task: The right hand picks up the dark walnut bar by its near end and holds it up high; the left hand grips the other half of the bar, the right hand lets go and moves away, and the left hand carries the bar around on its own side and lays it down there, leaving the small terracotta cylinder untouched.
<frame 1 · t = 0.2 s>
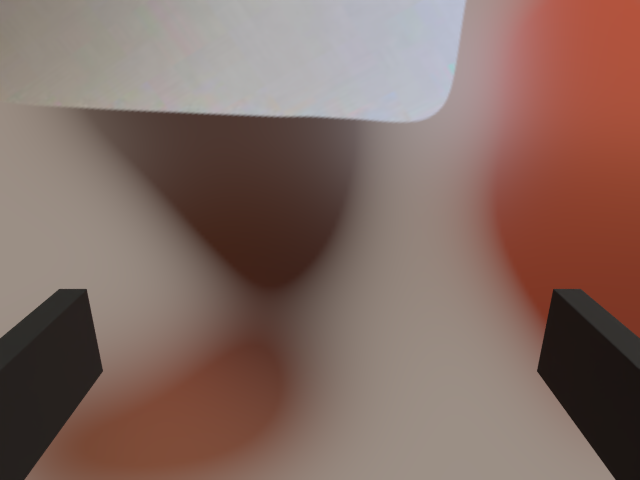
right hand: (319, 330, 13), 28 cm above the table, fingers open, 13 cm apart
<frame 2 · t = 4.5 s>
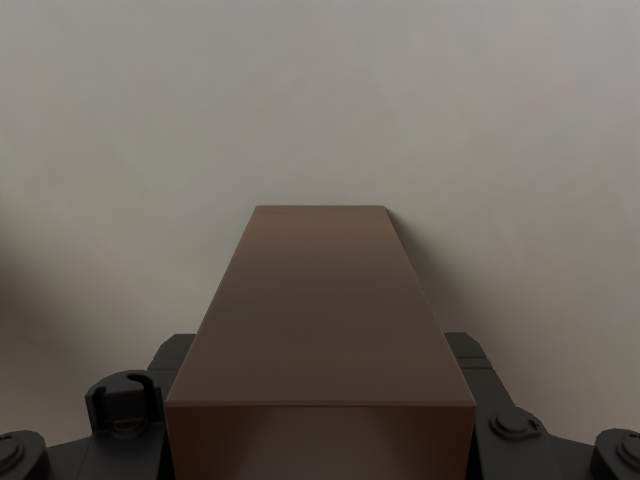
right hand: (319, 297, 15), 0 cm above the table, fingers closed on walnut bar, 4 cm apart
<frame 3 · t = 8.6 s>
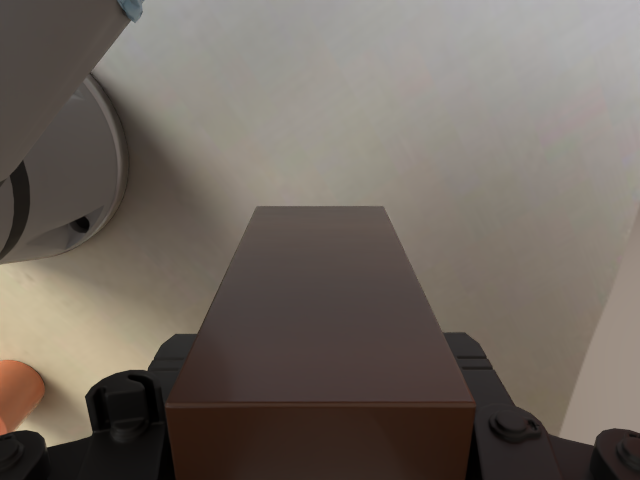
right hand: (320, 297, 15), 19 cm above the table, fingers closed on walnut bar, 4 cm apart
terracotta cylinder: (15, 384, 39), on the table
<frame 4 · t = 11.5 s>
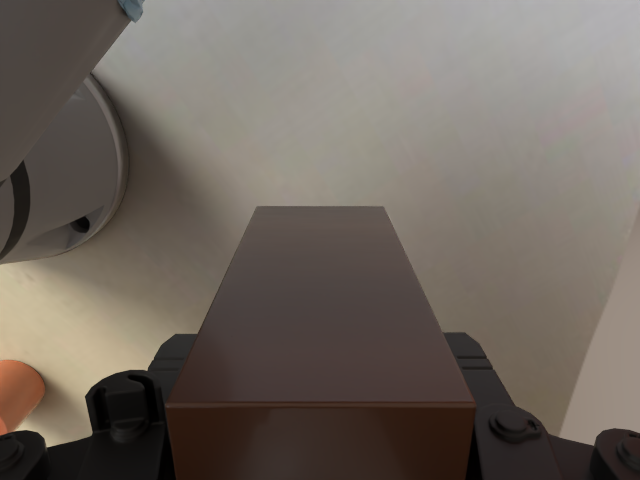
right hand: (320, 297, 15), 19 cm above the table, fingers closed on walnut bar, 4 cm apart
terracotta cylinder: (15, 384, 39), on the table
when the right hand's fingers open (19 cm above the table, at t = 12.6 s): walnut bar stays where it is, held by the left hand.
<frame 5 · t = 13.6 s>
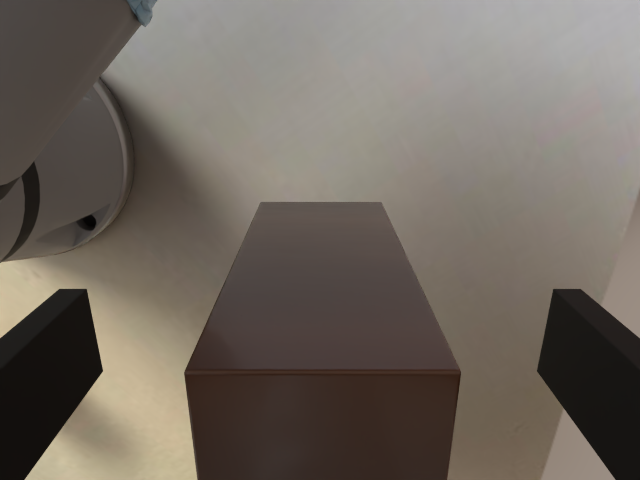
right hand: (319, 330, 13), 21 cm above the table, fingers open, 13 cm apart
walnut bar: (320, 477, 19), point 18 cm above the table, touching left hand
when the left hand's fingers open (6 cm above the table, at t = 34.4 s): walnut bar drops 2 cm, on the table.
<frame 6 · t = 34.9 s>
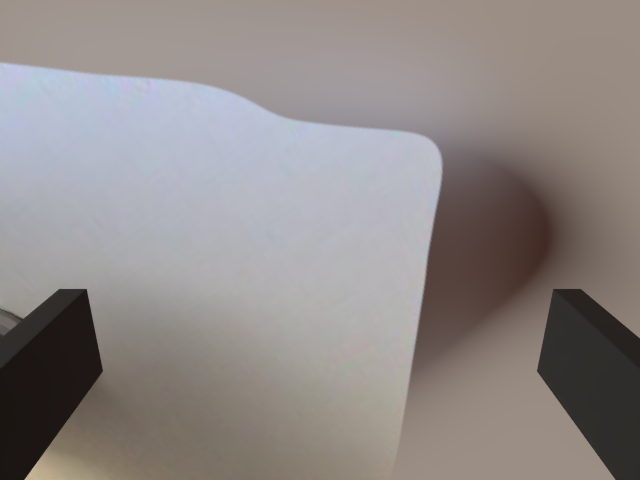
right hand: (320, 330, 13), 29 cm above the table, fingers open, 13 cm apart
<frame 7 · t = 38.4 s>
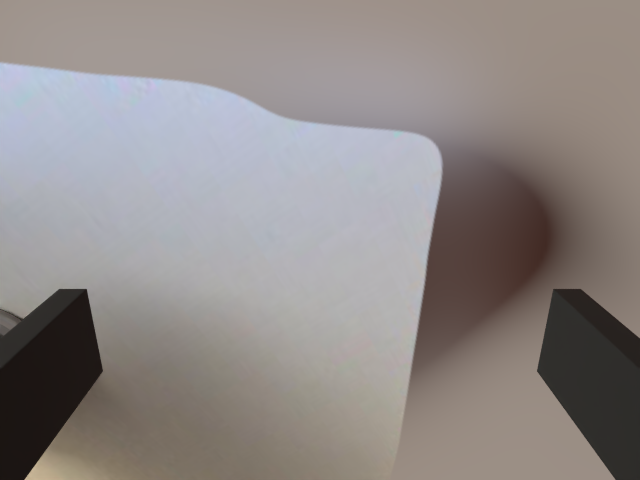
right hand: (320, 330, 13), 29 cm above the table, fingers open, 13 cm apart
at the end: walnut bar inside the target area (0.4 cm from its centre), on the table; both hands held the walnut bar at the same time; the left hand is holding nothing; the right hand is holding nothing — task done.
